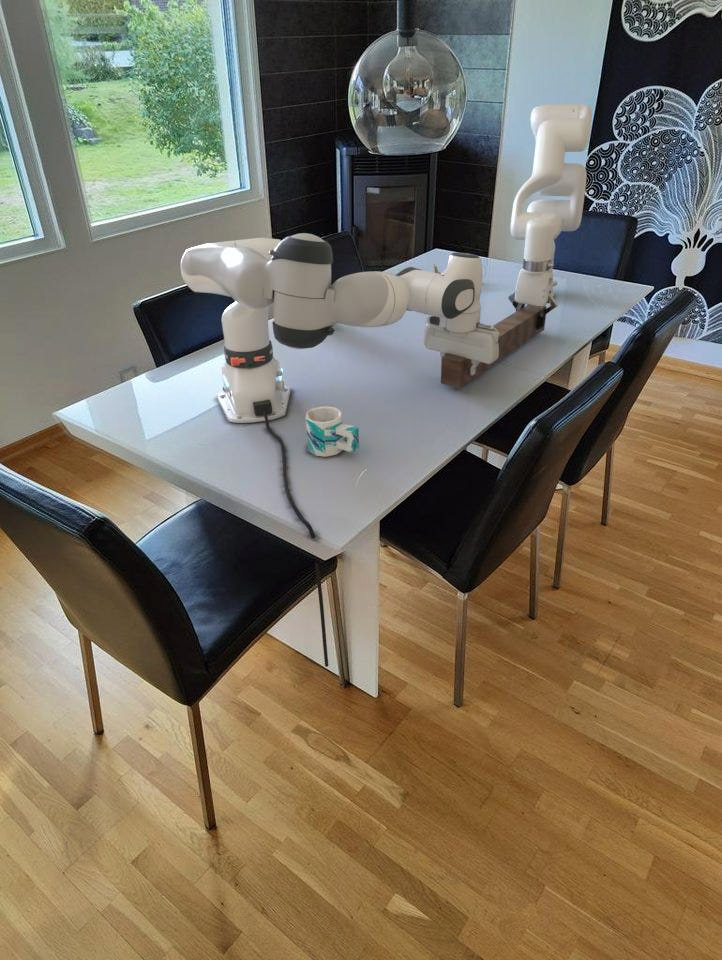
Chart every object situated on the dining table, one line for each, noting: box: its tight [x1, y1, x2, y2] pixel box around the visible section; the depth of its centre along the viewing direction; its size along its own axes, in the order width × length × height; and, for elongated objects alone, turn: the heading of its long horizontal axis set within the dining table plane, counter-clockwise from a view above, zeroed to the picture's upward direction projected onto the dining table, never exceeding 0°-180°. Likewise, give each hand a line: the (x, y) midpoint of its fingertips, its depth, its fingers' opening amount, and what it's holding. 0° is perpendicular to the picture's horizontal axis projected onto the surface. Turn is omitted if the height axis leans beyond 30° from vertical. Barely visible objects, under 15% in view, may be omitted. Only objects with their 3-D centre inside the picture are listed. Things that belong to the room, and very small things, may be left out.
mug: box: [305, 405, 360, 458], centre depth 147 cm, size 8×12×8 cm
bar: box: [440, 304, 548, 389], centre depth 186 cm, size 50×6×7 cm, turn 142°
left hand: (459, 371), depth 173 cm, fingers closed on bar, 5 cm apart
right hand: (529, 325), depth 201 cm, fingers closed on bar, 5 cm apart
